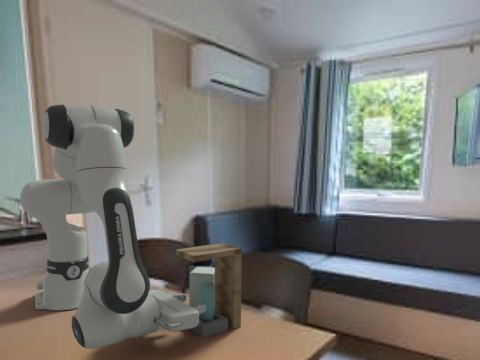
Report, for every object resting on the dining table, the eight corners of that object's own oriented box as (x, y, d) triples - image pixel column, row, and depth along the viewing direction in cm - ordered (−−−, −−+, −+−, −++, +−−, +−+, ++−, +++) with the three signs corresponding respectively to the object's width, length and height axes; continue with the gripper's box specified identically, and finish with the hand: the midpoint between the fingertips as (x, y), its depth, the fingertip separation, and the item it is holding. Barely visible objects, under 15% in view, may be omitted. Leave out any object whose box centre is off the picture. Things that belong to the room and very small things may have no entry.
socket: (186, 327, 104) (186, 316, 104) (211, 320, 109) (211, 309, 109) (202, 337, 97) (202, 326, 97) (228, 329, 103) (228, 318, 102)
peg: (197, 328, 103) (198, 284, 103) (208, 324, 106) (209, 281, 105) (205, 332, 101) (205, 287, 100) (216, 329, 103) (216, 284, 102)
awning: (175, 329, 102) (176, 249, 101) (221, 316, 112) (222, 242, 111) (193, 341, 95) (194, 256, 94) (240, 326, 105) (241, 248, 104)
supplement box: (212, 317, 111) (213, 274, 110) (188, 315, 112) (188, 272, 112) (219, 308, 118) (219, 267, 117) (196, 306, 119) (196, 265, 119)
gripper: (166, 315, 84) (217, 301, 92) (128, 290, 99) (175, 280, 108) (166, 343, 84) (217, 327, 93) (128, 314, 100) (175, 302, 108)
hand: (194, 302), depth 100 cm, fingers open, 8 cm apart
